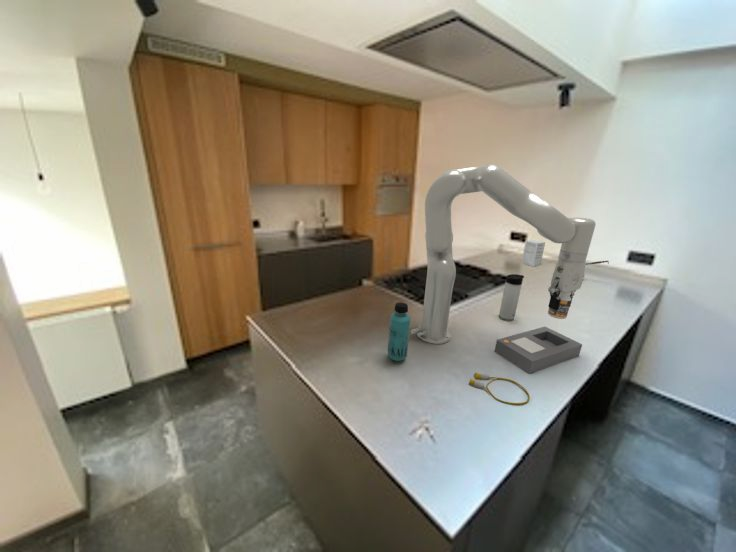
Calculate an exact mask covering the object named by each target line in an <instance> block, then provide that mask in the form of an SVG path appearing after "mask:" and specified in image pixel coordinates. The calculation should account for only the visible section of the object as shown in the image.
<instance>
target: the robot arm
mask: <svg viewBox="0 0 736 552" xmlns="http://www.w3.org/2000/svg"><path fill="white" fill-rule="evenodd" d="M479 192H483V194H485V195H486V196H488V197H489V198H491V199H492V200H493V201H494V202H495V203H497V204H498V205H499V206H501V208H503V209H505V210H506V211H507V212H508V213H510V214H511V215H513V216H514V217H516V218H518V219H521V220H522V221H525V222H526V223H527V224H528V225H530V226H531V227H534V228H535V229H536V230H537V233H538V234H539V235H540V236H541V237H543V238H544V239H546V240H549V241H550V242H552V243H555V244H561V245H560V249H559V254H558V257H557V260H558V261H557V263H556V265H555V268H554V271H553V273H552V276H551V277H552V278H551V281H550V286H549V287H548V288H547V289H548V292H549V297H550V299H549V302H548V309H549V308H552V309H554V310H558V309H559V305H560V301H561V299H560V297H561V295H562V293H563V292H570V291H572V292H571V295H570V297H571V304H572V302H573V298H574V296H575V292H576V291H577V290H579V289H581V288H582V284H583V281H584V277H585V270H586V265H585V263H586V262H587V258H588V253H589V249H590V246H591V244H592V239H593V236H594V232H595V228H596V221H595V220H594V219H592V218H587V217H567V216H566V215H565V214H563V213H562V212H561V211H560V210H558V209H557V208H556V207H554V206H553V205H551V204H550V203H548V202H547V201H545V200H544V199H542V197H540V196H539V195H537V194H536V193H534V192H533V191H531V190H530V189H529V188H528V187H526V186H525V185H523V184H522V183H521V182H520V181H518V180H517V179H516V178H515V177H513V176H512V175H511V174H509V173H508V172H507V171H505V170H504V169H503V168H502V167H501V166H499V165H497V164H493V163H490V164H485V165H479V166H473V167H466V168H459V169H449V170H445V172H443V173H442V174H441V175H440V176H439V177H438V178H436V180H434V181H433V182H432V184H431V185H430V187H429V188H428V190H427V193H426V196H425V201H424V216H425V219H424V220H425V234H424V236H425V247H426V259H427V260H426V261H427V272H426V280H425V281H426V282H425V289H424V290H425V291H424V297H423V298H424V301H423V308H422V319H421V323H419V325H418V327H416V328H412V329H409V333H410V334H411V335H416V336H417V337H418V338H419V339H420V340H422V341H423V342H426V343H429V344H433V345H441V344H445V343H447V342H449V341H450V340H451V333H450V332H449V331H448V324H449V317H450V309H451V304H452V303H451V302H452V295H453V289H454V284H455V280H456V275H457V274H456V272H457V268H456V263H455V260H454V258H453V257H454V255H453V241H454V233H453V228H452V226H453V225H452V204H453V201H454V200H455V198H456V197H458V196H460V195H462V194H463V195H464V194H465V195H466V194H471V193H479ZM583 276H584V277H583ZM557 288H559V289H560V290H559V289H557ZM556 291H559V293H558V294H557V292H556ZM571 304H570V307H571Z"/></svg>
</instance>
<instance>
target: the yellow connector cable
mask: <svg viewBox="0 0 736 552" xmlns="http://www.w3.org/2000/svg"><path fill="white" fill-rule="evenodd" d="M473 375H474V376H473V377H474V379H475V380H474V379H471V378H470V379H469V382H468V385H469V386H473V387H475V388H477V389H484V390H485V392H486V393H487V394H488V395H489V396H491V397H493V398H494V399H495V400H497V401H498V402H500V403H503V404H507V405H511V406H522V405H525V404H526V403H528V402H529V401H530V400H531V399H530V398H531V397H530V393H529V392H528V390H527V389H526V388H525V387H524V386H523V385H522V384H520V383H519V382H517V381H515V380H512V379H509V378H505V377H497V376H496V377H495V376H490V375H489V374H485V373H478V372H475V373H474V374H473ZM490 379H492V380H490ZM481 380H483V381H486V380H490V381H488V382H487V384H486V385H485V384H484V383H483V382H481ZM499 380H501V381H502V380H504V381H508V382H511V383H512V384H514V385H515V386H517V387H519V389H521V390H522V391H523V392H524V393H525V394H526V395H527V400H525V401H523V402H510V401H505V400H502V399H499V398H498V397H496V396H495V395H494V394H493V393H492V391H490V389H489V388H488V386H489V385H490V384H491V383H492V382H495V381H499Z"/></svg>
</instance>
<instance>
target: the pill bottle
mask: <svg viewBox="0 0 736 552" xmlns="http://www.w3.org/2000/svg"><path fill="white" fill-rule="evenodd" d="M557 289H559V288H557ZM559 290H560V289H559ZM556 292H557V294H558V293H559V291H556ZM571 292H572V291H570V292H563V293H562V295H561V297H560V299H561V301H560V305H559V309H558V310H554V309H552V308H549V307H548V310H547V314H548V316H550V317H551V318H553V319H558V320H565V319H567V317H568V314H569V311H570V307H571V306H570V304H572V302H571V297H570V295H571Z"/></svg>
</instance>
